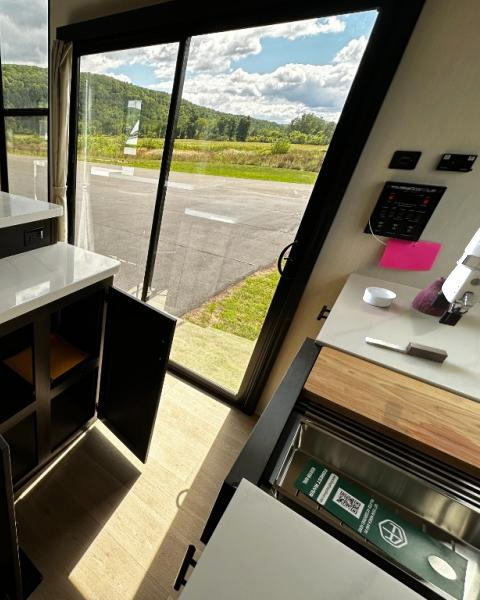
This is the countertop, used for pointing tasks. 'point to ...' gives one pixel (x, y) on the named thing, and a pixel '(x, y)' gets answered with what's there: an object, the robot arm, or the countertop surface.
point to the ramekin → (379, 296)
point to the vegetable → (430, 298)
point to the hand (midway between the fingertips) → (441, 315)
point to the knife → (413, 350)
